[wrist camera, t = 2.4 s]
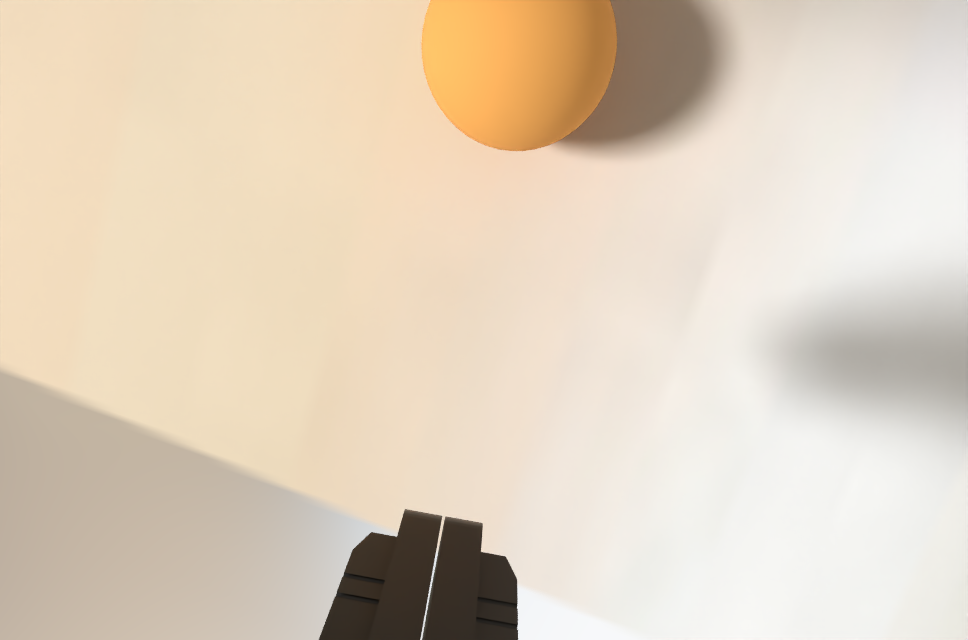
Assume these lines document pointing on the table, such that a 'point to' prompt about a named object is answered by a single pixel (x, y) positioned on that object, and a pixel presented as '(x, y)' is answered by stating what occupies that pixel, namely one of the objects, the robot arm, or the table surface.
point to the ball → (518, 66)
